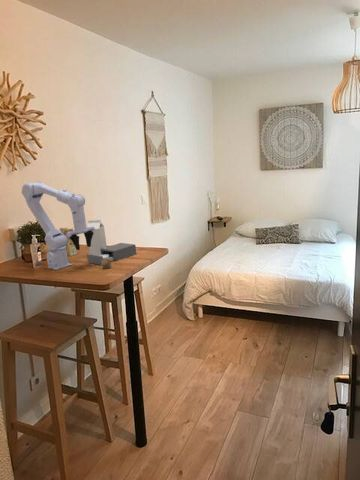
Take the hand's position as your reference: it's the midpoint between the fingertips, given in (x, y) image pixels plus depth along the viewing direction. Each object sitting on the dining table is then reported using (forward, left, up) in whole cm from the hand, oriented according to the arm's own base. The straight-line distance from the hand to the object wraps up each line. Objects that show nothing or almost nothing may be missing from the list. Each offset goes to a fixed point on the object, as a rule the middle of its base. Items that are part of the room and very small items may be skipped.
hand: (83, 248), depth 186 cm
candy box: (+12, +33, -10) cm, 36 cm away
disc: (+11, 0, -8) cm, 13 cm away
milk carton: (+19, +15, -10) cm, 26 cm away
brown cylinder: (+4, -12, -9) cm, 16 cm away
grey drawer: (+12, 0, -9) cm, 15 cm away
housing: (+21, 0, -9) cm, 23 cm away
